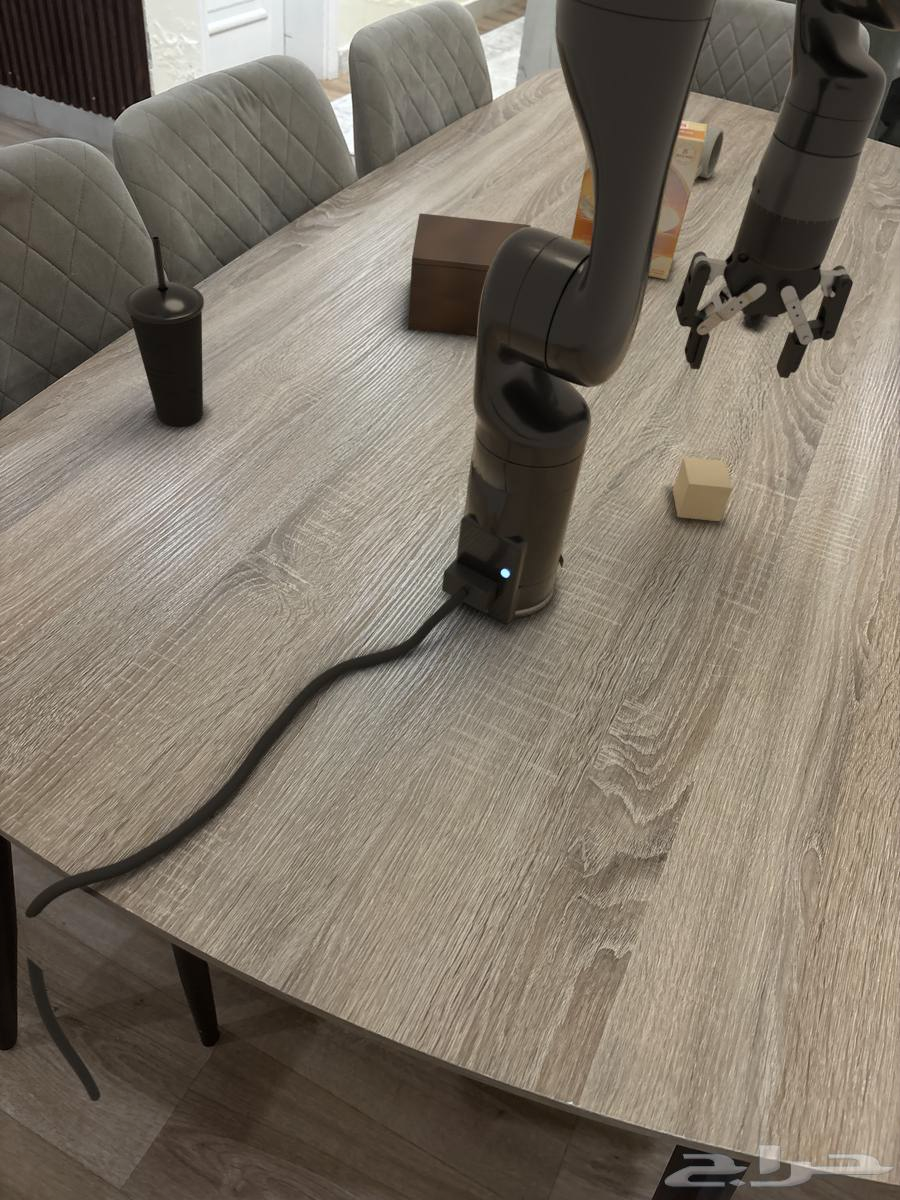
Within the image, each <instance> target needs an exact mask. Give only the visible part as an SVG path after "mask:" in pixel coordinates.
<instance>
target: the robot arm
mask: <svg viewBox="0 0 900 1200" xmlns="http://www.w3.org/2000/svg"><path fill="white" fill-rule="evenodd" d="M717 2H718V0H555V8H554V35H555V36H554V37H555V43H556V49H557V54H558V59H559V64H560V67H561V72H562V74H563V75H562V76H563V78H564V79H563V80H564V81H565V82H564V83H565V87H566V90H567V93H568V96H569V99H570V103H571V105H572V110H573V112H574V116H575V118H576V122H577V125H578V129H579V132H580V136H581V137H582V138H581V139H582V141H583V145H584V149H585V153H586V158H587V157H588V161H589V167H590V172H591V179H592V188H593V227H592V238H591V247H590V246H588V245H585V244H582V243H580V242H577V241H574V240H571V238H568V237H565V236H563V235H560V234H557V233H554V232H552V231H549V230H546V229H543V228H541V227H535V226H531V227H527V228H522V229H520V230H517V231H516V232H514V233H513V234H511V235H510V236H509V237H508V238H507V239H506V240H505V241H504V242H503V243H502V245H501V246H500V248H499V249H498V251H497V253H496V254H495V256H494V258H493V260H492V262H491V264H490V267H489V269H488V272H487V276H486V279H485V282H484V286H483V290H482V295H481V301H480V307H479V315H478V327H477V336H476V344H475V345H476V346H475V366H474V379H473V391H472V392H473V393H472V403H473V404H472V405H473V410H474V412H475V416H476V418H475V426H474V427H475V429H474V435H473V443H472V451H471V456H470V465H469V471H468V472H469V474H468V481H467V489H466V497H465V503H464V512H463V516H462V518H461V519H460V524H459V531H458V532H459V533H458V540H457V548H456V555H455V556H456V558H455V560H454V561H453V562H452V563H450V564H449V565H448V566H447V568H446V569H444V571H443V577H442V578H443V579H442V588H441V591H442V592H444V593H446V594H448V595H450V598H449V599H447V600H446V601H445V602H444V603H443V604H442V605H441V606H440V607H438V608H437V610H436V611H435V612H434V613H432V614H431V616H430V617H428V618H427V619H426V620H425V622H423V624H421V626H420V627H419V628H418V630H416V631H415V632H414V634H413V635H412V636H411V637H409V638H408V639H405V640H404V641H403V642H401V643H400V644H398V645H395V646H393V647H390V648H388V649H385V650H381V651H378V652H374V653H370V654H364V655H360V656H357V657H353V658H350V659H347V660H344V661H341V662H340V663H337V664H335V665H334V666H332V667H329V668H328V669H327V670H325V671H324V672H322V673H321V674H318V676H317V677H315V678H314V679H313V680H311V681H310V683H308V684H307V685H306V686H304V687H303V689H302V690H301V691H299V693H298V694H297V695H296V696H295V697H294V698H293V699H292V700H291V702H289V704H287V706H286V708H285V709H284V710H283V711H282V712H281V714H279V715H278V717H277V718H275V720H274V721H273V722H272V724H271V725H269V727H268V728H267V729H266V730H265V731H264V733H262V735H261V736H260V738H259V739H258V740H257V741H256V743H255V744H254V746H253V747H252V749H251V750H250V751H249V753H248V754H247V755H246V757H245V759H244V760H243V761H242V763H241V764H240V765H239V767H238V768H237V770H236V771H235V772H234V774H232V776H231V777H230V779H229V780H228V781H227V782H226V783H225V784H224V785H223V786H222V787H221V789H219V791H217V792H216V793H215V794H214V795H213V796H212V797H211V798H210V799H209V800H208V801H207V802H206V803H204V805H203V806H201V807H200V808H199V809H198V810H197V811H196V812H194V813H193V814H192V815H191V816H190V817H188V818H187V819H186V820H185V821H183V822H182V823H180V824H179V825H178V826H177V827H175V828H174V829H172V830H171V831H169V832H168V833H167V834H165V835H164V836H162V837H161V838H159V839H158V840H156V841H154V842H153V843H151V844H149V845H147V846H146V847H144V848H142V849H140V850H139V851H137V852H135V853H134V854H132V855H130V856H128V857H126V858H124V859H121V860H119V861H117V862H114V863H110V864H108V865H104V866H102V867H98V868H97V867H96V868H93V869H90V870H87V871H83V872H80V873H76V874H73V875H70V876H67V877H65V878H62V879H60V880H58V881H56V882H54V883H52V884H51V885H49V886H47V887H46V888H45V889H43V891H41V892H40V893H39V894H37V895H36V896H35V898H33V900H32V901H31V902H30V904H29V905H28V907H27V908H26V910H25V912H24V914H25V917H26V918H29V919H31V918H32V919H33V918H36V917H37V916H38V915H40V914H41V913H42V912H43V910H45V908H46V907H47V906H48V905H49V904H51V903H52V902H53V901H54V900H56V899H57V898H59V897H60V896H62V895H65V894H66V893H69V892H72V891H75V890H77V889H79V887H80V888H83V887H86V886H89V885H93V884H97V883H100V882H104V881H108V880H111V879H114V878H116V877H119V876H122V875H125V874H126V873H129V872H131V871H133V870H134V869H137V868H139V867H140V866H142V865H144V864H146V863H147V862H150V861H151V860H152V859H155V858H156V857H158V856H159V855H160V854H162V853H164V852H166V851H167V850H169V849H170V848H172V847H173V846H174V845H176V844H178V843H179V842H180V841H182V840H183V839H184V838H186V837H187V836H188V835H190V834H191V833H192V832H194V831H195V830H196V829H197V828H199V827H200V826H201V825H202V824H204V822H205V821H207V820H208V819H209V818H210V817H211V816H212V815H213V814H215V812H217V810H219V808H221V807H222V806H224V804H225V803H226V802H227V801H228V800H229V799H230V798H231V797H232V796H233V794H235V792H237V790H238V789H239V788H240V786H241V785H242V784H243V783H244V781H245V780H246V778H248V776H249V775H250V773H251V772H252V770H253V769H254V767H255V766H256V765H257V763H258V761H259V760H260V759H261V757H262V756H263V754H265V751H266V750H267V749H268V747H269V746H270V744H272V742H273V741H274V740H275V739H276V738H277V736H279V734H280V733H281V732H282V731H283V730H284V729H285V728H286V726H287V725H288V724H289V722H290V721H291V720H292V719H293V718H294V716H296V714H298V712H299V711H300V710H301V708H302V707H303V706H304V705H305V704H306V703H307V702H308V701H309V699H311V697H313V695H315V694H316V693H317V692H318V691H319V690H320V689H322V688H323V687H325V686H326V685H328V684H329V683H330V682H331V681H333V680H334V679H336V678H338V677H340V676H341V675H343V674H346V673H348V672H351V671H354V670H356V669H360V668H365V667H369V666H372V665H376V664H380V663H385V662H387V661H391V660H393V659H396V658H399V657H401V656H403V655H405V654H407V653H409V652H410V651H412V650H413V649H415V648H417V646H419V645H420V644H421V643H422V642H423V641H424V640H425V639H426V638H427V637H428V635H430V633H431V632H432V631H433V630H434V628H436V627H437V626H438V624H440V623H441V622H442V621H443V620H444V619H445V618H446V617H447V616H448V615H449V614H450V613H451V612H452V611H453V610H454V609H456V608H457V606H458V605H460V604H461V603H462V602H463V603H465V604H467V605H469V606H470V607H472V608H473V609H475V610H478V611H480V612H481V613H483V614H486V615H488V616H490V617H491V618H494V619H496V620H498V621H500V623H503V624H506V625H507V624H509V623H510V622H511V621H512V620H513V619H515V618H522V617H527V616H530V615H533V614H535V613H537V612H539V611H540V610H542V609H543V608H545V607H546V606H547V605H548V604H549V602H550V601H551V600H552V597H553V594H554V590H555V585H556V576H557V573H558V569H559V565H560V567H561V569H563V565H564V561H565V560H564V557H563V555H562V551H563V546H564V542H565V538H566V534H567V529H568V525H569V522H570V521H569V520H570V517H571V512H572V508H573V504H574V499H575V495H576V491H577V486H578V482H579V479H580V478H579V477H580V473H581V470H582V466H583V462H584V458H585V457H584V456H585V453H586V448H587V445H588V441H589V437H590V436H589V435H590V431H591V426H592V414H591V409H590V407H589V405H588V403H587V400H586V399H585V397H584V396H583V395H582V394H581V393H580V392H579V391H578V389H577V388H575V386H573V385H572V384H574V385H577V386H580V387H585V388H597V387H599V386H602V385H604V384H605V383H607V382H608V381H609V380H610V379H611V378H612V377H613V376H614V375H615V373H616V372H617V371H618V370H619V368H620V366H621V365H622V363H623V362H624V360H625V358H626V356H627V354H628V352H629V349H630V347H631V344H632V342H633V340H634V336H635V335H636V330H637V327H638V324H639V320H640V316H641V313H642V309H643V305H644V300H645V295H646V291H647V286H648V283H649V282H648V281H649V278H650V276H649V271H650V266H651V261H652V256H653V251H654V246H655V240H656V235H657V230H658V225H659V220H660V214H661V209H662V204H663V199H664V194H665V189H666V184H667V179H668V175H669V171H670V166H671V162H672V158H673V154H674V150H675V146H676V142H677V138H678V134H679V131H680V127H681V124H682V120H683V119H684V116H685V113H686V109H687V105H688V103H689V98H690V95H691V91H692V88H693V85H694V81H695V78H696V74H697V71H698V68H699V64H700V62H701V61H700V60H701V57H702V54H703V51H704V47H705V43H706V40H707V38H708V34H709V32H710V31H709V30H710V27H711V24H712V21H713V17H714V13H715V9H716V4H717ZM861 23H864V24H867V25H870V26H872V27H875V28H877V29H880V30H884V31H889V32H900V0H795V9H794V25H793V37H792V38H793V39H792V49H791V66H790V67H791V69H790V77H789V81H788V84H787V87H786V90H785V93H784V96H783V99H782V101H781V105H780V108H779V112H778V114H777V118H776V122H775V125H774V127H773V131H772V134H771V136H770V140H769V142H768V144H767V146H766V148H765V150H764V153H763V155H762V157H761V160H760V163H759V165H758V169H757V172H756V174H755V175H754V177H753V180H752V183H751V191H750V194H749V197H748V200H747V204H746V207H745V209H744V214H743V215H742V219H741V223H740V225H739V226H740V227H739V229H738V232H737V235H736V239H735V242H734V245H733V246H734V247H733V249H732V251H731V253H730V254H729V255H728V257H727V258H726V259H725V260H723V259H718V258H717V259H716V258H710V257H708V256H707V254H706V252H704V251H697V252H695V253H694V254H693V256H692V259H691V261H690V264H689V267H688V270H687V274H686V276H685V279H684V281H683V283H682V284H683V285H682V288H681V289H680V293H679V296H678V299H677V302H676V305H675V312H676V316H677V319H678V323H679V325H680V326H681V327H683V328H686V327H688V328H690V330H689V333H688V336H687V340H686V343H685V346H684V356H685V358H686V363H689V367H690V370H700V369H701V366H702V362H703V360H704V356H705V353H706V350H707V347H708V344H709V341H710V337H711V336H710V332H711V331H712V330H713V329H715V328H717V326H719V325H720V324H721V323H722V322H727V321H729V320H731V319H732V318H733V317H734V316H736V314H738V313H739V312H742V313H743V315H745V314H748V315H755V314H764V315H765V316H767V317H770V318H779V315H783V314H786V313H787V315H788V318H789V319H790V322H791V324H792V327H793V331H788V334H787V337H786V339H785V341H784V344H783V347H782V349H781V352H780V354H779V358H778V361H777V363H776V371H777V374H778V377H779V378H783V379H789V378H790V376H791V374H794V373H796V372H797V371H798V370H799V368H800V366H801V363H802V360H803V358H804V357H805V356H804V355H805V353H806V350H807V348H808V345H809V344H811V343H812V342H813V341H816V340H821V339H822V340H824V341H830V340H832V339H833V338H834V337H835V336H836V334H837V330H838V327H839V325H840V322H841V319H842V316H843V313H844V310H845V307H846V305H847V303H848V299H849V296H850V294H851V291H852V288H853V285H854V282H853V279H852V278H851V275H850V273H849V272H848V270H847V269H846V267H845V266H844V265H836V266H834V267H833V268H832V269H821V266H822V264H823V262H824V260H825V258H826V255H827V252H828V251H829V248H830V245H831V243H832V240H833V237H834V235H835V232H836V229H837V227H838V224H839V222H840V219H841V218H842V217H841V216H842V214H843V212H844V209H845V206H846V204H847V201H848V198H849V196H850V193H851V190H852V188H853V185H854V184H855V183H854V182H855V179H856V176H857V172H858V168H859V163H860V159H861V157H862V153H863V150H864V147H865V145H866V143H867V140H868V137H869V134H870V132H871V129H872V126H873V124H874V122H875V119H876V116H877V115H878V112H879V109H880V107H881V104H882V102H883V101H882V100H883V98H884V95H885V91H886V87H887V75H886V72H885V70H884V69H883V67H882V66H881V65H880V64H879V63H878V62H877V61H876V60H875V59H874V58H873V57H872V56H871V55H870V54H869V53H867V51H866V50H865V49H864V47H863V45H862V43H861V37H860V28H861V27H860V26H861ZM719 276H723V279H724V281H725V282H724V284H722V286H721V287H719V288H718V289H717V290H715V291H714V292H713V293H712V295H711V296H710V299H708V301H706V302H705V303H703V305H701V306H700V307H699V305H700V302H701V299H702V297H703V295H704V291H705V288H706V286H711V285H712V284H713V283H714V281H715V280H716V279H717V278H718V277H719ZM819 286H820V290H821V292H822V294H823V296H822V299H821V303H820V305H819V309H818V311H817V315H816V317H815V319H811V320H808V319H807V316H806V313H805V311H804V309H803V307H802V304H801V301H802V300H804V299H805V298H806V297H807V296H808V295H809V294H811V293H812V292H814V290H816V289H817V288H818V287H819ZM26 963H27V969H28V971H27V972H28V977H29V978H28V979H29V983H30V986H31V992H32V995H33V998H34V1002H35V1005H36V1008H37V1010H38V1013H39V1016H40V1018H41V1020H42V1022H43V1025H44V1027H45V1029H46V1030H47V1033H48V1035H49V1036H50V1038H51V1039H52V1041H53V1042H54V1044H55V1046H56V1047H57V1049H58V1050H59V1052H60V1053H61V1054H62V1056H63V1057H64V1059H65V1060H66V1061H67V1063H68V1065H69V1066H70V1068H71V1069H72V1070H73V1071H74V1073H75V1075H76V1076H77V1077H78V1079H79V1081H80V1082H81V1084H82V1085H83V1087H84V1089H85V1091H86V1093H87V1095H88V1097H89V1099H90V1101H92V1102H97V1101H99V1099H100V1098H101V1091H100V1089H99V1087H98V1085H97V1083H96V1081H95V1079H94V1077H93V1076H92V1074H91V1072H90V1071H89V1069H88V1067H87V1066H86V1064H85V1062H84V1061H83V1059H82V1058H81V1057H80V1054H78V1052H77V1051H76V1048H74V1046H73V1044H72V1043H71V1042H70V1040H69V1038H68V1037H67V1035H66V1034H65V1032H64V1030H63V1029H62V1027H61V1025H60V1023H59V1021H58V1019H57V1017H56V1015H55V1012H54V1010H53V1008H52V1005H51V1002H50V999H49V996H48V992H47V987H46V983H45V978H44V972H43V969H42V968H41V967H40V966H39V965H38V964H37V963H35V962H34V961H33V960H31V958H29V957H28V956H26Z"/></svg>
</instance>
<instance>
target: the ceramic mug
mask: <svg viewBox="0 0 900 1200" xmlns="http://www.w3.org/2000/svg"><path fill="white" fill-rule="evenodd" d="M723 142H724V130H723V129H720V128H714V127H709V126H707V130H706V136H705V141H704V145H703V150H702V153H701V157H700V161H699V165H698V168H697V172H696V176H695V179H694V180H696V179H697V178H698V177H701V178H704V179H709V178H710V177H711V176H712V175H713V173H714V172H715V169H716V166H717V164H718V161H719V159H720V156H721V153H722V147H723Z"/></svg>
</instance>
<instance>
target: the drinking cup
mask: <svg viewBox="0 0 900 1200" xmlns="http://www.w3.org/2000/svg"><path fill="white" fill-rule="evenodd" d="M160 239H161V238H160V237H159V236H152V238H151V242H152V248H153V256H154V262H155V268H156V269H155V270H156V276H157V282H156V281H154V282H150V283H145V284H142V285H140V286H136V287H134V288H133V289H132V290H130V291H129V292H128V293H127V294H126V296H125V298H124V300H123V301H124V309H125V310H126V312H127V314H128V315H129V316H130V321H131V323H132V327H133V332H134V334H135V339H136V342H137V346H138V349H139V352H140V353H139V354H140V357H141V359H142V364H143V367H144V368H143V369H144V371H145V375H146V379H147V383H148V386H149V389H150V393H151V396H152V397H151V398H152V400H153V404H154V407H155V411H156V415H157V418H158V420H159V421H160V422H161V423H162V424H164V425H167V426H169V427H174V428H183V427H189V426H192V425H194V424H197V423H198V422H199V421H201V419H202V418H203V416H204V393H203V392H204V391H203V390H204V388H203V387H204V385H203V383H204V382H203V381H204V380H203V317H202V316H203V312H202V311H203V309H204V307H205V299H204V295H203V294H202V293H201V291H200V290H198V289H197V288H195V287H194V286H191V285H189V284H186V283H182V282H177V281H166V277H165V269H164V262H163V255H162V247H161V240H160Z"/></svg>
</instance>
